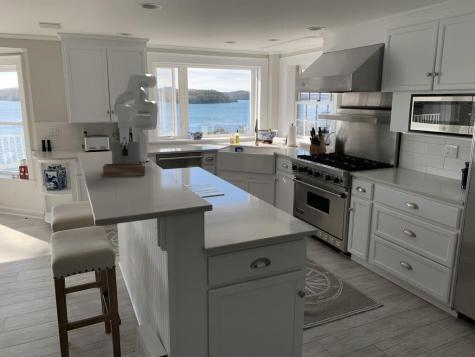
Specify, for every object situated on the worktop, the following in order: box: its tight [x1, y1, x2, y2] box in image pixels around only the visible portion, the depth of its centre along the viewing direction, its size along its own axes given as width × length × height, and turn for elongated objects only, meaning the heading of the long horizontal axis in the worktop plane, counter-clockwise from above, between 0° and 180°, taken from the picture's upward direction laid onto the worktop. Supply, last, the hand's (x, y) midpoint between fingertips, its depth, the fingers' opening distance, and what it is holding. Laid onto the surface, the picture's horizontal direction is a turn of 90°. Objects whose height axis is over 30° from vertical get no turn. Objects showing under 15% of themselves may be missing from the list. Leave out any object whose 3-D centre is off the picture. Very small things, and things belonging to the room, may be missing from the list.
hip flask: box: [111, 140, 139, 164], centre depth 230 cm, size 16×4×20 cm, turn 110°
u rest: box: [102, 162, 146, 178], centre depth 219 cm, size 12×23×6 cm, turn 103°
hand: (125, 154), depth 230 cm, fingers open, 5 cm apart
